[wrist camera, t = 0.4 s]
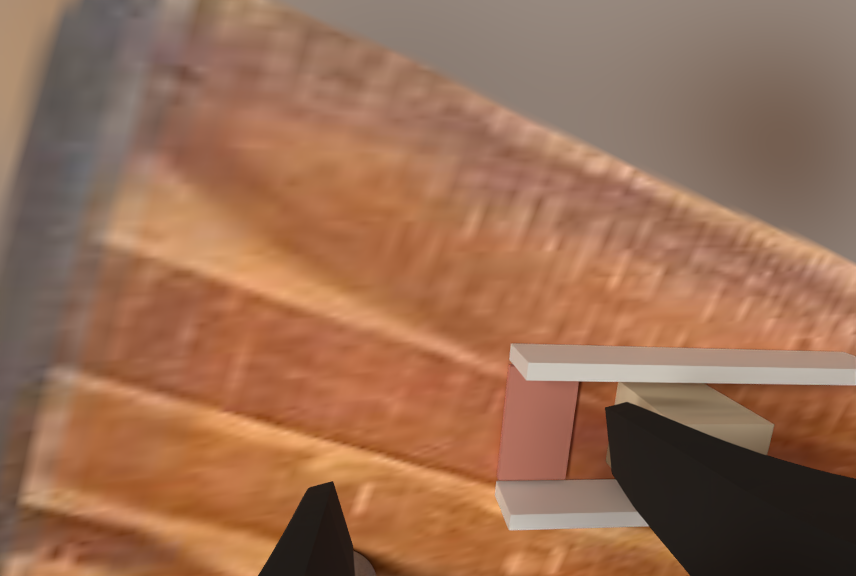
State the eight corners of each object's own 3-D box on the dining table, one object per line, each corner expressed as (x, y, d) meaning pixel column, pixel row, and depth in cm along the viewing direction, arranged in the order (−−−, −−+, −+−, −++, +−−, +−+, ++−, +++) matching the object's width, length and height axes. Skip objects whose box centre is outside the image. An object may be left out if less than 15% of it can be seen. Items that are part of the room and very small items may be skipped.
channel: (807, 489, 26) (852, 520, 23) (494, 494, 23) (509, 530, 21) (842, 352, 24) (895, 369, 22) (511, 343, 22) (528, 362, 19)
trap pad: (562, 475, 24) (565, 479, 23) (496, 476, 23) (498, 480, 23) (578, 365, 23) (580, 368, 22) (508, 364, 22) (510, 366, 22)
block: (684, 459, 25) (751, 518, 20) (604, 460, 24) (657, 521, 20) (699, 380, 24) (774, 424, 19) (617, 379, 23) (675, 424, 19)
